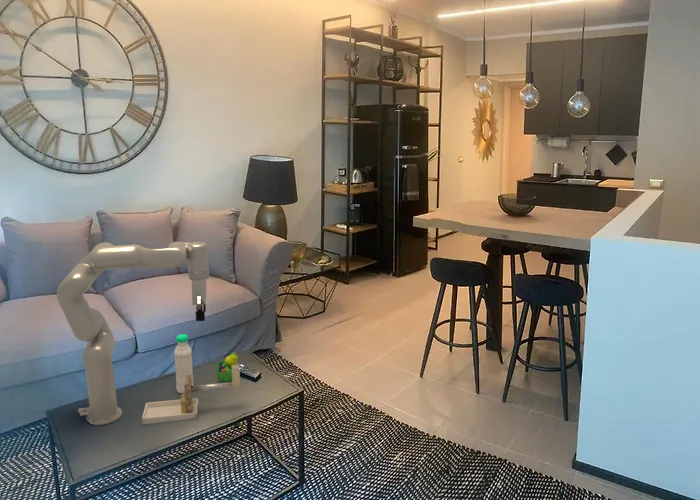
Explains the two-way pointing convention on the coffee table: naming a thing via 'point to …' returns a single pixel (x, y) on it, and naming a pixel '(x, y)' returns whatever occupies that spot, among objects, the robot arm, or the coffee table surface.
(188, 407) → the shaft post
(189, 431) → the coffee table surface
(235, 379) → the steel shaft
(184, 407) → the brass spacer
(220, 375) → the fruit basket
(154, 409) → the tray
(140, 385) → the coffee table surface
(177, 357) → the water bottle
